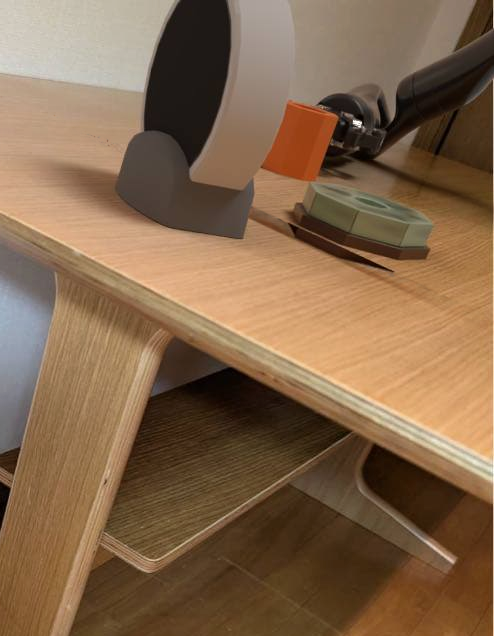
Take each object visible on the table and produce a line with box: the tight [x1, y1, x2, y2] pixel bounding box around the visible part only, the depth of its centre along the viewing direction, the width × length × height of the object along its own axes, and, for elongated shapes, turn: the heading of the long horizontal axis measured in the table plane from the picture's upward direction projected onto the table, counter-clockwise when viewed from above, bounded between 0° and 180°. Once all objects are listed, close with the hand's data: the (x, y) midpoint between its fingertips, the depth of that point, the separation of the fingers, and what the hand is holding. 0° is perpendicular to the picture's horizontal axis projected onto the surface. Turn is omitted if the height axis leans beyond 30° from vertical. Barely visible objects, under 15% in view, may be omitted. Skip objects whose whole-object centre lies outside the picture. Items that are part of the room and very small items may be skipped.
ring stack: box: [288, 181, 435, 273], centre depth 75 cm, size 12×12×4 cm
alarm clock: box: [115, 0, 296, 240], centre depth 66 cm, size 16×10×18 cm, turn 18°
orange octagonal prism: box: [261, 100, 339, 182], centre depth 95 cm, size 6×6×8 cm
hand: (314, 127), depth 98 cm, fingers open, 8 cm apart
